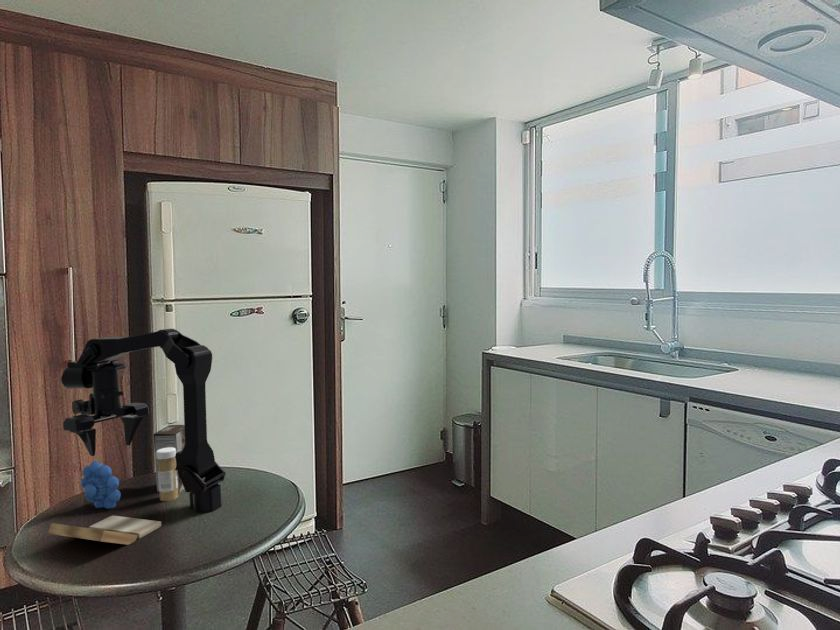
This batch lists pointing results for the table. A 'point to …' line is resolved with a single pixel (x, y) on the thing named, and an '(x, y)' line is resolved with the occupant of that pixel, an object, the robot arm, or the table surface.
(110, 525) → the ash board
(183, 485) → the robot arm
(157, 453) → the sprinkles bottle
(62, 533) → the oak plank
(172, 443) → the coffee box
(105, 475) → the grapes
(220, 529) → the table surface
